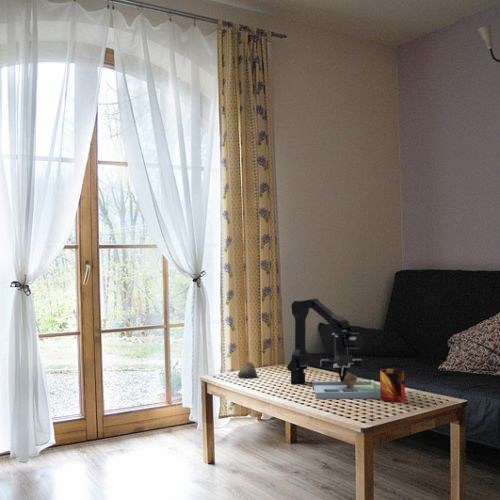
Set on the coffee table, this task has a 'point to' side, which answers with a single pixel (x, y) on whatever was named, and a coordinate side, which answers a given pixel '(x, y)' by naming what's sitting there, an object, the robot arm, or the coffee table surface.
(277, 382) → the coffee table surface
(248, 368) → the stone
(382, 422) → the coffee table surface
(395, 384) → the mug
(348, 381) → the block
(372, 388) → the trap box
